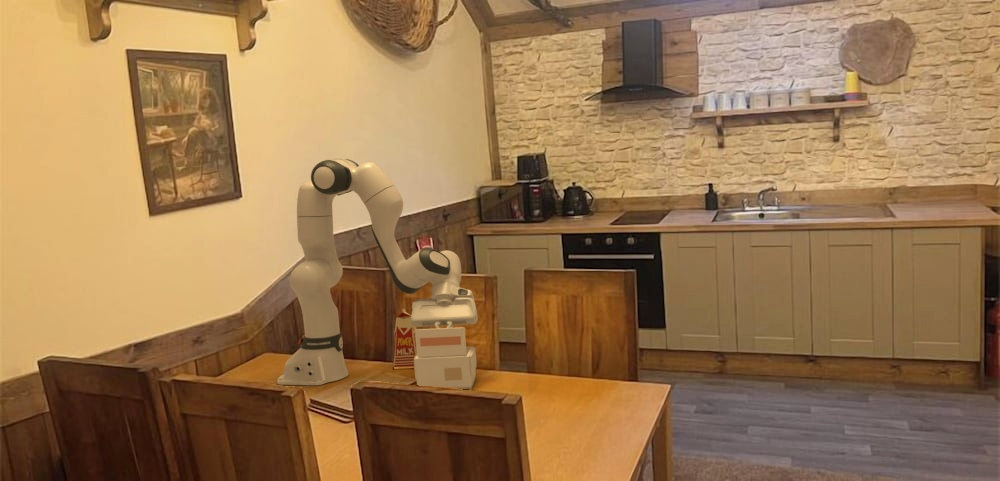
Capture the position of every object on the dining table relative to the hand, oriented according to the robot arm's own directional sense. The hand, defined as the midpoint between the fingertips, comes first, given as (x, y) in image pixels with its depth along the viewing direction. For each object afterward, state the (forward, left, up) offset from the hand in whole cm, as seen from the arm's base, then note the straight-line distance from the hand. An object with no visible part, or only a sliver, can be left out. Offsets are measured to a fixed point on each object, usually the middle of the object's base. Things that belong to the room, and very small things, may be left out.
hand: (443, 336), depth 217 cm
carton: (0, +1, -15) cm, 15 cm away
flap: (0, -4, -1) cm, 4 cm away
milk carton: (-17, +25, -16) cm, 34 cm away
